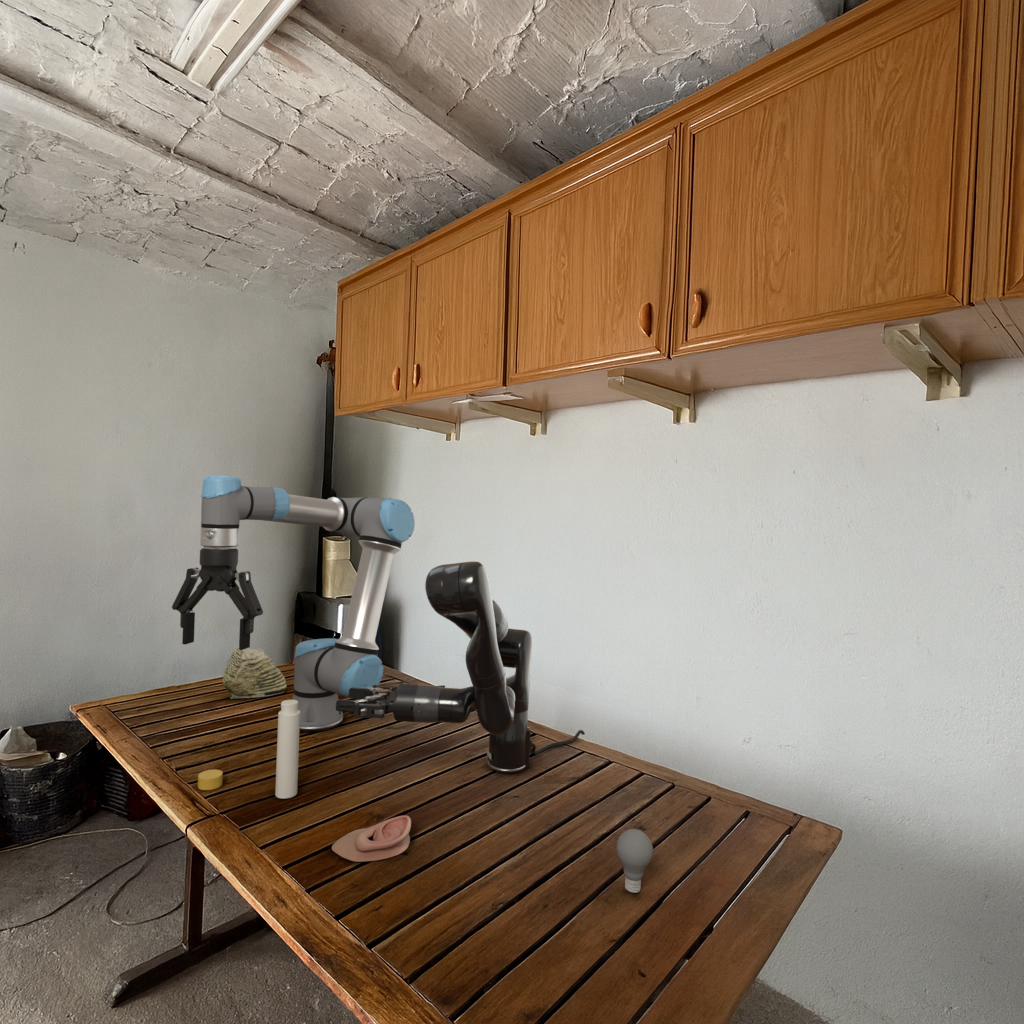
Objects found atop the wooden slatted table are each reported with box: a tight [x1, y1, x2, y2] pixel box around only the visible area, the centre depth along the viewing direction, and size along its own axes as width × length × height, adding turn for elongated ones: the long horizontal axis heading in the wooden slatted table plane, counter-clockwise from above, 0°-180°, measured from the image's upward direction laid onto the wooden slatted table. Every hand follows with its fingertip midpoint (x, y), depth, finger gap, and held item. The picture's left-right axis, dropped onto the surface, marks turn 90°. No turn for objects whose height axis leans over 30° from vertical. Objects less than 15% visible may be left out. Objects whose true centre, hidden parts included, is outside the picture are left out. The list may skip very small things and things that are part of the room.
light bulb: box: [615, 828, 654, 894], centre depth 106 cm, size 6×6×10 cm
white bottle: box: [274, 699, 301, 800], centre depth 134 cm, size 4×4×20 cm
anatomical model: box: [331, 814, 412, 863], centre depth 116 cm, size 13×4×12 cm
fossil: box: [222, 646, 288, 699], centre depth 198 cm, size 9×18×15 cm, turn 132°
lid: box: [197, 769, 224, 791], centre depth 137 cm, size 5×5×2 cm
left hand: (216, 646), depth 136 cm, fingers open, 13 cm apart
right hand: (343, 698), depth 133 cm, fingers open, 8 cm apart
